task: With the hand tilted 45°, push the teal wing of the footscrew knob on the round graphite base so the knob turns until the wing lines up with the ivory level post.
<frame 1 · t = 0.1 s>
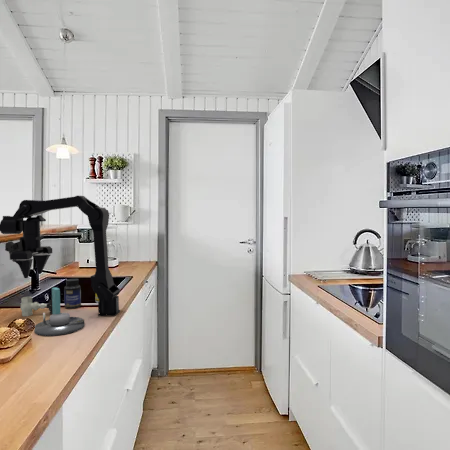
hand: (33, 275, 134), 15 cm above the worktop, tool pointing down, fingers open, 9 cm apart
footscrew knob: (58, 305, 119), point 7 cm above the worktop, hinge at -30.0°
valve: (38, 315, 134), on the worktop
supplement bottle: (102, 302, 152), on the worktop
pill bottle: (73, 307, 144), on the worktop
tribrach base: (60, 328, 118), on the worktop
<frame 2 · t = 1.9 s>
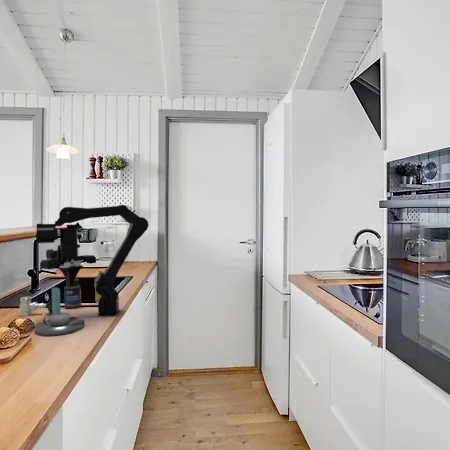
hand: (70, 285, 128), 12 cm above the worktop, tool pointing down, fingers closed
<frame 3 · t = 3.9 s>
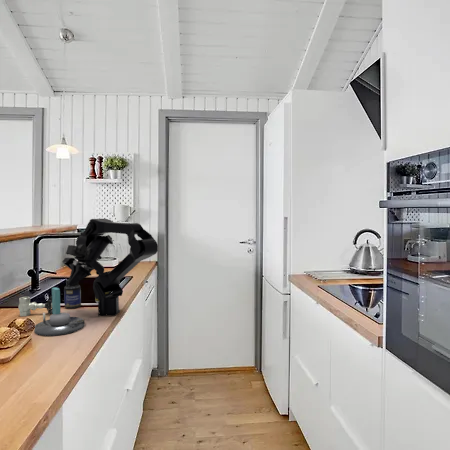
hand: (68, 285, 126), 12 cm above the worktop, tool tilted 45°, fingers closed
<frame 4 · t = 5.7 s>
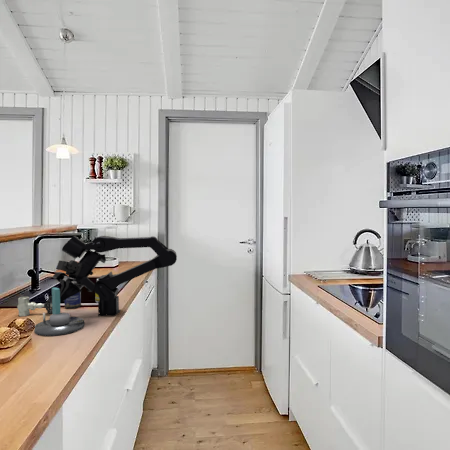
hand: (57, 301, 123), 8 cm above the worktop, tool tilted 45°, fingers closed, pressing on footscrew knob
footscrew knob: (58, 305, 119), point 7 cm above the worktop, hinge at -30.0°, touching gripper
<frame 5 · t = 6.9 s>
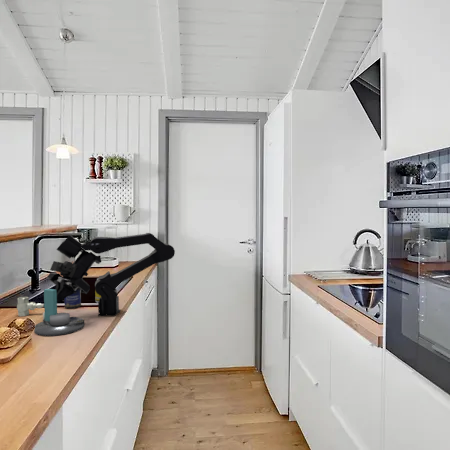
hand: (52, 303, 121), 8 cm above the worktop, tool tilted 45°, fingers closed
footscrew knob: (56, 306, 118), point 7 cm above the worktop, hinge at -2.5°
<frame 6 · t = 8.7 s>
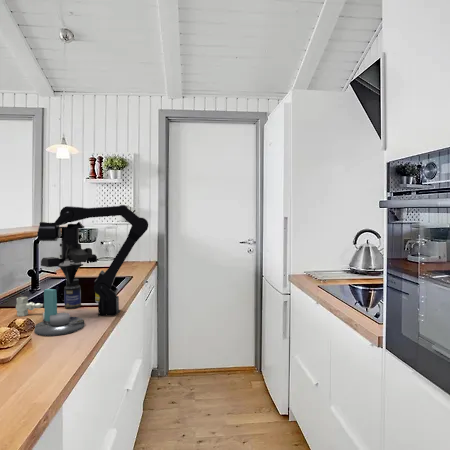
hand: (70, 283, 131), 12 cm above the worktop, tool pointing down, fingers closed
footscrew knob: (56, 306, 118), point 7 cm above the worktop, hinge at -2.2°
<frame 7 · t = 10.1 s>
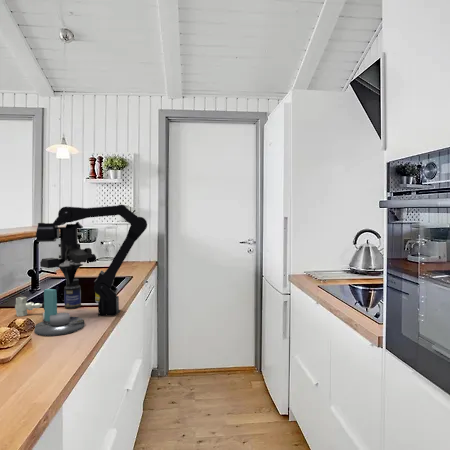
hand: (70, 283, 131), 12 cm above the worktop, tool pointing down, fingers closed
at the end: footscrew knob at -2° (first picture: -30°); pill bottle moved 0.2 cm from its start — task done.
